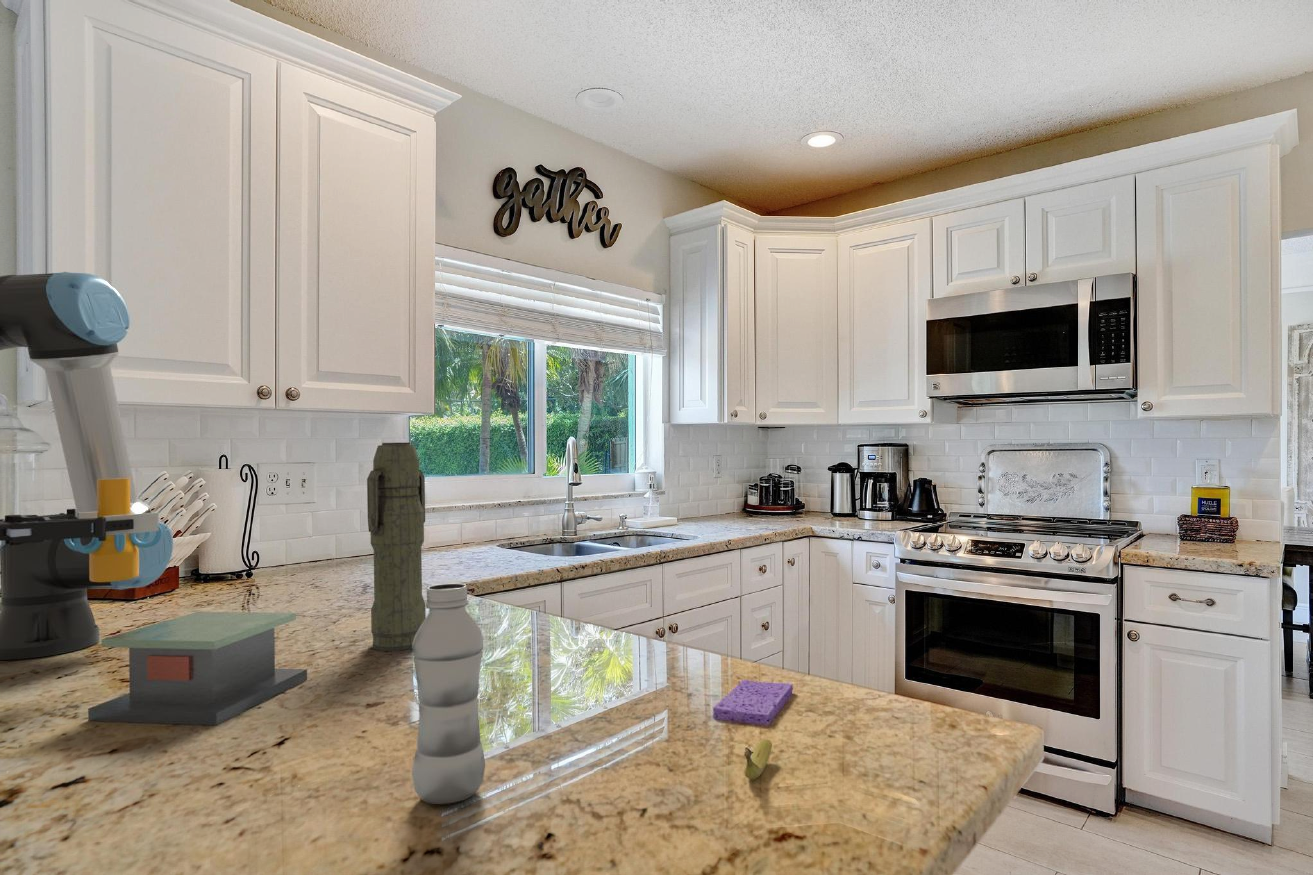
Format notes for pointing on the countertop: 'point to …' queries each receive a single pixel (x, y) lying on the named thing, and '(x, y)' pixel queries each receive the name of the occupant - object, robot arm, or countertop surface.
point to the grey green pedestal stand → (199, 669)
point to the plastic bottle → (448, 699)
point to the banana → (757, 759)
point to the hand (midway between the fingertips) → (142, 519)
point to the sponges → (753, 702)
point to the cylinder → (114, 537)
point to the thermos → (396, 545)
